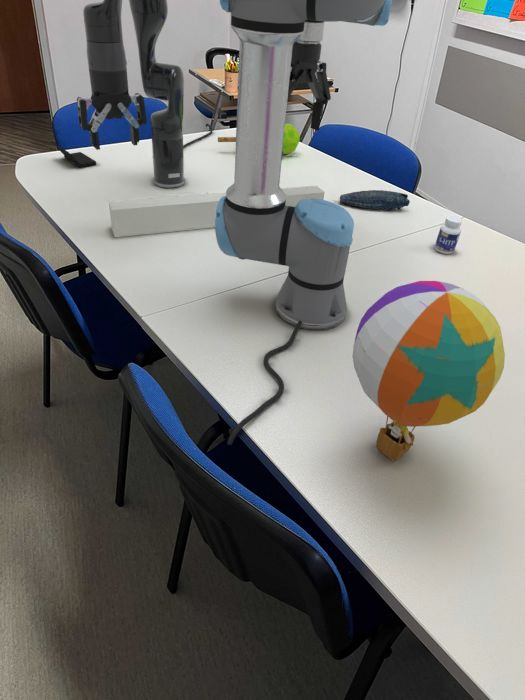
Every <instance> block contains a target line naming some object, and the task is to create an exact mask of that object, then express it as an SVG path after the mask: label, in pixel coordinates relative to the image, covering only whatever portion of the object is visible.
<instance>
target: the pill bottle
mask: <svg viewBox="0 0 525 700" xmlns="http://www.w3.org/2000/svg"><path fill="white" fill-rule="evenodd" d="M462 222H463V219H461V218H460V217H458V216H455V215H448V216H446V218H445V220H444V223H443V224H442V225H440V228H439V231H438V234H437V237H436V240H435V243H434V250H435V251H437V252H439V253H441V254H447V255H449V254H453V253H454V252H455V250H456V247H457V244H458V242H459V239H460V236H461V233H462V229H461V225H462Z"/></svg>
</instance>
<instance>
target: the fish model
mask: <svg viewBox="0 0 525 700" xmlns="http://www.w3.org/2000/svg"><path fill="white" fill-rule="evenodd" d="M410 202H411V201H410V200H409V195H408V194H406V193H403V192H402V193H401V192H399V191H392V190H382V189H380V190H379V189H377V190H376V189H368V190H360V191H352V192H348V193H344V194H341V195H340V196H339V203H343V204H346V205H349V206H351V207H357V208H362V209H371V210H372V209H374V210H384V211H385V210H386V211H391V210H394V209H397V210H402V208H404V207H408V206H409V205H410Z"/></svg>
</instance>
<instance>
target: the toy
mask: <svg viewBox="0 0 525 700" xmlns="http://www.w3.org/2000/svg"><path fill="white" fill-rule="evenodd" d="M356 329H357V330H356V333H355V338H354V343H353V348H352V363H353V368H354V371H355V373H356V375H357V378H358V380H359V383H360V386H361V388H362V390H363V392H364V394H365V395H366V396H367V397H368V398H369V399H370V401H371V402H373V403H374V405H375V406H376V407H377V408H378V409H379V410H380V411H381V412H382V413H383V414H384V415H385V416H386V422H385V427H380V428H379V432H378V434H377V438H376V442H375V444H376V448H377V449H378V451H380V453H382V454H383V455H385V456H386V457H387V459H390V461H392V462H396V461H398V460H399V459H400V458H401V457H403V456H404V455H405V454H407V452H409V451H410V449H411V447H413V446H414V445H415V444H414V442H415V439H416V436H415V434H414V433H413V432H414V430H415V429H416V427H417V428H418V427H433V426H443V425H448V424H451V423H453V422H455V421H458V420H460V419H462V418H465V417H467V416H469V415H471V414H472V413H474V412H477V411H478V410H479V409H480V408H481V407H482V406H483V405H484V404H485V403H486V401H487V400H488V398H489V397H490V395H491V393H492V392H493V390H494V389H495V388H496V386H497V384H498V382H499V381H500V380H501V378H502V375H503V371H504V369H505V360H506V359H505V358H506V353H505V347H504V341H503V335H502V329H501V326H500V324H499V321H498V320H497V318H496V316H495V315H494V314H493V312H492V311H491V310H490V309H489V308H488V306H487V305H486V304H485V303H484V302H483V301H482V299H481V298H480V297H478V296H476V295H475V294H473V293H472V292H470V291H469V290H467V289H465V288H463V287H460V286H457V285H455V284H453V283H449V282H444V281H440V280H439V281H438V280H417V281H414V282H410V283H407V284H402V285H399V286H396V287H394V288H392V289H391V290H389V291H387V292H386V293H384V294H383V295H382V296H381V297H380V298H378V299H377V300H376V301H375V302H374V303H373V304H372V305H371V306H369V308H367V310H366V311H365V313H364V314H363V316H362V317H361V318H360V320H359V324H358V327H357V328H356ZM389 419H390V420H391V421H392V422H391V423H388V422H389V421H388V420H389ZM408 427H411V428H412V427H413V428H412V430H411V431H410V430H409V428H408Z"/></svg>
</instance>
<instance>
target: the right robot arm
mask: <svg viewBox="0 0 525 700" xmlns="http://www.w3.org/2000/svg"><path fill="white" fill-rule="evenodd" d="M392 4H393V0H219V5H220V7H221V9H222V10H223V11H225V12H226V13H230V14H231V15H230V28H231V29H232V31H233V32H234V33H235V35H236V36H237V37H238V39H239V51H238V53H239V55H238V73H237V74H238V75H237V104H236V131H235V137H236V142H235V152H234V153H235V155H234V156H235V157H234V180H233V184H232V185H230V186H229V187H228V188H227V189H226V191H225V193H226V196H223V197H221V198H220V200H219V202H218V205H217V209H216V218H215V227H214V230H215V237H216V238H215V239H216V244H217V246H218V249H219V250H220V252H222V253H223V254H225V255H226V256H229V257H233V258H238V259H239V260H243V261H244V260H249V261H253V262H254V261H255V262H261V263H265V264H266V263H267V264H272V265H279V266H284V267H288V270H287V271H288V272H287V275H286V278H285V279H284V282H283V283H282V285H281V287H280V290H279V291H278V294H277V296H276V300H275V311H276V313H277V315H278V316H279V317H280V318H281V319H282V320H283V321H284V322H286V323H287V324H289V325H291V326H293V327H294V329H293V331H292V332H291V335H290V338H289V339H288V341H287V342H286V343H284V344H283V345H281V346H278V347H276V348H273V349H271V350H269V351H268V352H267V353H265V355H264V357H263V365H264V367H265V370H267V371H268V373H270V375H272V377H273V378H274V379H275V380H276V381H277V383H278V390H277V392H276V393H275V394H274V395H273V396H272V397H271V398H269V399H267V400H266V401H264V402H263V403H262V404H261V405H260V406H259V407H258V408H256V410H254V411H253V412H252V413H250V414H249V415H247V416H246V417H244V418H243V419H242V420H241V421H240V422H238V424H237V425H236V426H235V427H234V429H233V430H232V432H231V433H230V435H229V437H228V439H227V442H226V444H227V445H228V446H231V445H232V444H233V443H234V441H235V439H236V438H237V436H238V434H239V433H240V431H241V430H242V428H244V427H245V425H247V424H248V423H250V422H251V421H252V420H254V419H255V418H256V417H257V416H259V415H261V413H262V412H263V411H265V410H266V409H267V408H268V407H269V406H271V405H272V404H274V403H275V402H276V401H278V400H279V399H280V398H281V396H282V395H283V393H284V390H285V384H284V380H283V379H282V377H281V376H280V375H279V373H277V371H276V370H274V368H272V366H271V365H270V363H269V359H270V357H271V356H273V355H275V354H277V353H280V352H282V351H284V350H286V349H288V348H289V347H290V346H291V345H292V344H293V343H294V341H295V339H296V336H297V334H298V333H299V331H300V329H304V330H310V331H324V330H325V331H326V330H329V329H333V328H336V327H337V326H339V325H340V324H342V323H343V322H344V320H345V318H346V315H347V310H348V309H347V308H348V307H347V306H348V305H347V297H346V292H345V286H344V280H345V275H346V271H347V267H348V266H347V265H348V260H349V254H350V250H351V249H350V248H351V246H352V244H353V242H354V239H353V236H354V235H353V234H354V228H355V223H354V219H353V217H352V215H351V214H350V213H349V212H348V211H347V210H346V209H345V208H344V207H343V206H341V205H339V204H336V203H334V202H333V201H329V200H326V199H323V200H322V199H316V198H312V199H308V198H307V199H303V200H300V201H299V202H298V203H297V205H296V206H295V207H292V206H286V205H285V202H286V195H285V193H284V192H283V190H282V189H281V187H280V182H281V181H280V180H281V171H282V160H283V154H282V151H283V141H284V131H285V124H286V118H287V111H288V110H287V109H288V100H289V98H290V97H291V95H292V94H293V92H294V91H295V89H296V88H298V87H299V86H301V85H304V84H305V85H308V87H309V89H310V91H311V93H312V95H313V97H314V99H315V101H314V102H313V103H312V112H311V120H310V127H309V129H313V130H315V131H320V128H321V120H322V117H323V114H324V108H325V107H324V106H325V105H326V106H327V105H328V102H329V101H330V100H331V99H332V96H331V91H330V85H329V81H328V75H327V63H326V62H324V61H321V54H322V53H321V52H322V44H321V42H322V41H323V38H324V30H325V29H324V28H325V22H327V23H328V22H332V23H335V22H336V23H337V22H344V23H351V24H359V25H368V26H372V27H373V26H374V27H375V26H379V27H381V26H382V27H383V26H385V25H387V24H388V22H389V19H390V15H391V11H392V10H391V9H392Z"/></svg>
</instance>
